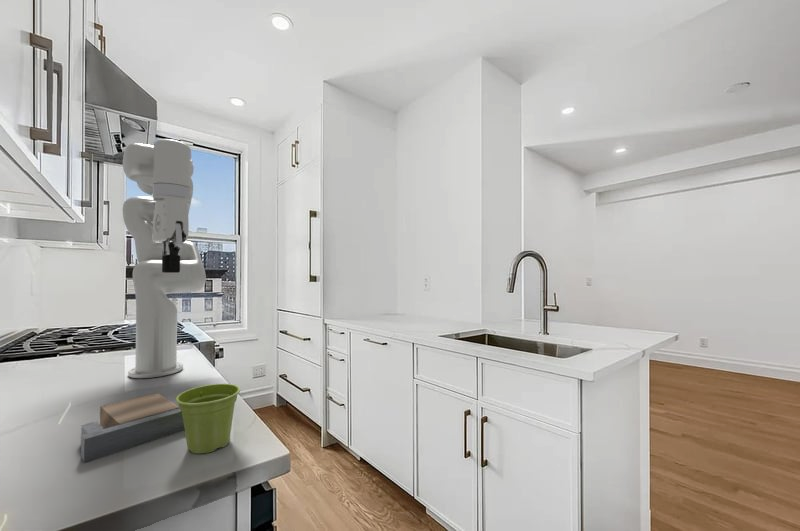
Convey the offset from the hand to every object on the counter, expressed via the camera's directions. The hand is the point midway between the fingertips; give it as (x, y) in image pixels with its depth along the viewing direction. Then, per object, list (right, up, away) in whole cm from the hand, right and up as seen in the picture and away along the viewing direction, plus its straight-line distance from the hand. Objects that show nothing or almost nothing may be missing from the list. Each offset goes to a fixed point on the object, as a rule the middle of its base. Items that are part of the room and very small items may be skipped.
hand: (171, 272), depth 82 cm
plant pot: (+22, -28, -24) cm, 43 cm away
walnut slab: (+6, -29, -17) cm, 34 cm away
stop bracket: (+9, -28, -19) cm, 35 cm away
